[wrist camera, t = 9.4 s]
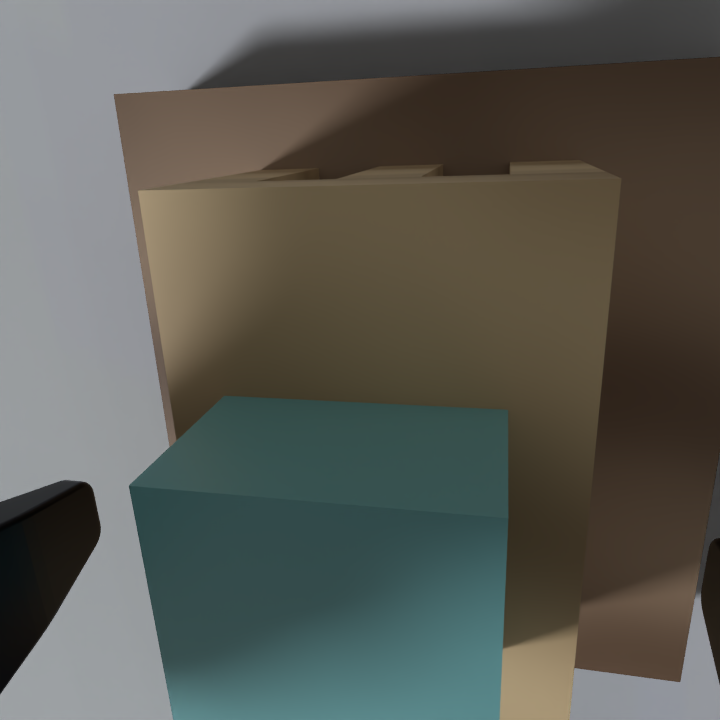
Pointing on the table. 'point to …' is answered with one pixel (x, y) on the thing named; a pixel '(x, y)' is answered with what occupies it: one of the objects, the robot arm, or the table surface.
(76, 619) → the table surface
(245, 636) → the teal square block
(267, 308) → the pallet
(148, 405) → the table surface
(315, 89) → the block
